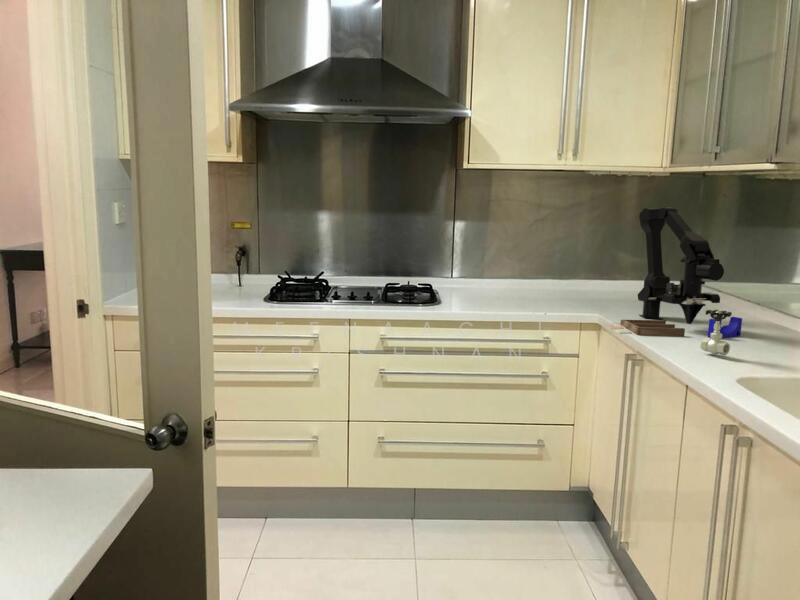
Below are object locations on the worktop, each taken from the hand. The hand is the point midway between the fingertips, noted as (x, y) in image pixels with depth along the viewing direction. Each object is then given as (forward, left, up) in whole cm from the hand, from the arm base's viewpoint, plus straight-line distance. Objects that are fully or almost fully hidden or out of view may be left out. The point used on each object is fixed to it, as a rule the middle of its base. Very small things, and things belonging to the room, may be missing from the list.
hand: (688, 323), depth 217 cm
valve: (+35, -9, -2) cm, 36 cm away
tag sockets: (+3, -14, -2) cm, 14 cm away
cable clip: (+9, +7, -3) cm, 12 cm away
